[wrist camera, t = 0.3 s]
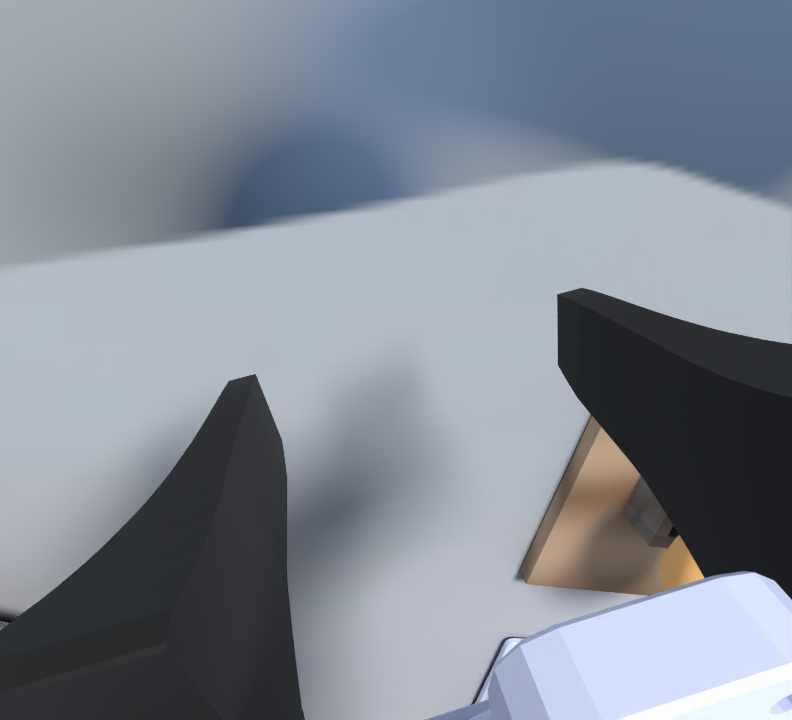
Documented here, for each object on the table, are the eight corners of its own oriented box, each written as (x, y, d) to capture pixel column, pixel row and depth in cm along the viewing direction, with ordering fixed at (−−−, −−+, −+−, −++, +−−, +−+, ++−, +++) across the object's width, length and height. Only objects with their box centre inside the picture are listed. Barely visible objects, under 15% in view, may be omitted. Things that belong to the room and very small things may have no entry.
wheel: (703, 569, 28) (771, 647, 24) (612, 559, 27) (667, 639, 23) (758, 482, 26) (842, 551, 22) (662, 466, 25) (733, 536, 21)
